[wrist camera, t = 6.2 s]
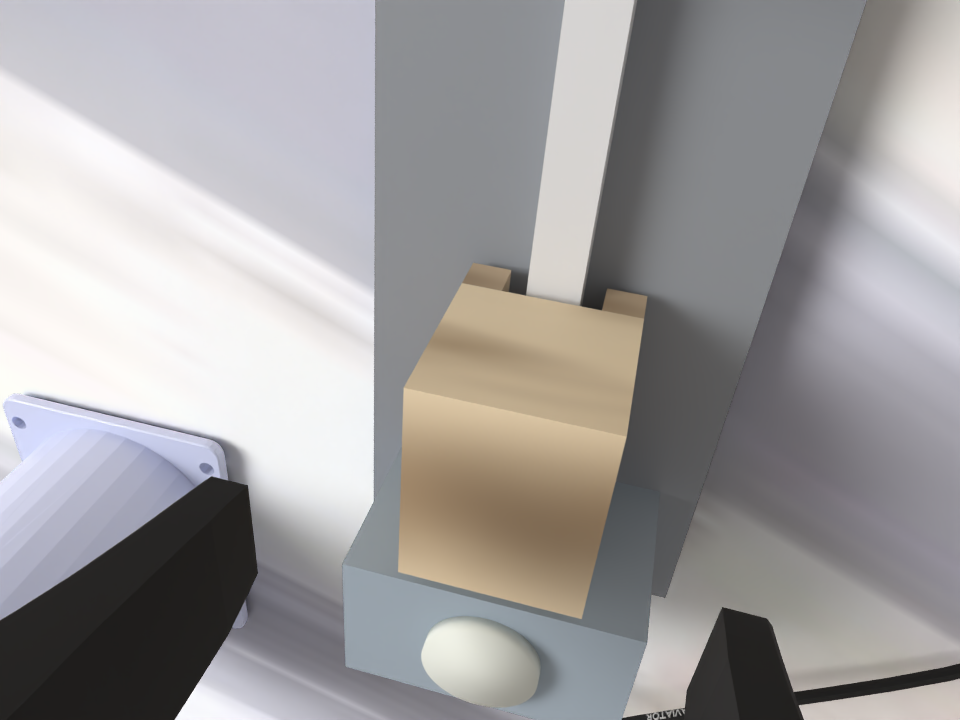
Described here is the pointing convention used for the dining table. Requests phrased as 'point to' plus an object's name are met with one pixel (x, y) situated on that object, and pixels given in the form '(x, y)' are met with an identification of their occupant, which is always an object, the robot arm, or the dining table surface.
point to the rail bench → (580, 280)
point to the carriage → (516, 441)
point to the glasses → (844, 690)
